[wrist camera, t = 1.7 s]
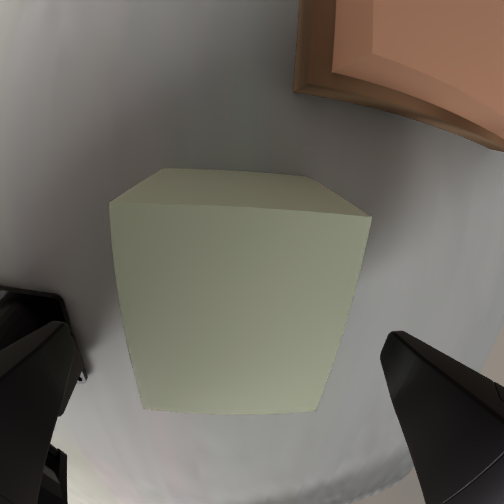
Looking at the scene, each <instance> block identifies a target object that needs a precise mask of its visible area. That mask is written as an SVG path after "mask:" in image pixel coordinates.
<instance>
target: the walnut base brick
mask: <svg viewBox="0 0 504 504" xmlns="http://www.w3.org/2000/svg"><path fill="white" fill-rule="evenodd" d="M335 17H336V0H299V16H298V31H297V46H296V59H295V72H294V84H293V92H295V93H302V94H308V95H314V96H320V97H326V98H331V99H336V100H341V101H346V102H351V103H355V104H359V105H364V106H368V107H372V108H376V109H380V110H383V111H387V112H391V113H394V114H398V115H401V116H405V117H408V118H411V119H414V120H417V121H421V122H424V123H427V124H429V125H432V126H435V127H438V128H441V129H444V130H446V131H449V132H452V133H454V134H457V135H459V136H462V137H464V138H467V139H469V140H471V141H474V142H476V143H478V144H481V145H483V146H485V147H487V148H490V149H493V150H497V151H502V152H504V139H503V138H501V137H499V136H498V135H496V134H494V133H492V132H490V131H489V130H487V129H485V128H483V127H481V126H479V125H477V124H475V123H473V122H471V121H469V120H467V119H465V118H463V117H461V116H459V115H457V114H454V113H452V112H450V111H448V110H445V109H443V108H441V107H439V106H436V105H434V104H431V103H429V102H426V101H424V100H421V99H419V98H416V97H413V96H411V95H408V94H405V93H402V92H399V91H396V90H393V89H390V88H387V87H384V86H381V85H378V84H374V83H371V82H368V81H364V80H360V79H357V78H353V77H349V76H345V75H341V74H337V73H333V72H332V63H333V49H334V35H335Z"/></svg>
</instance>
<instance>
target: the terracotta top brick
mask: <svg viewBox="0 0 504 504" xmlns="http://www.w3.org/2000/svg"><path fill="white" fill-rule="evenodd" d="M332 72H333V73H337V74H341V75H345V76H349V77H353V78H357V79H360V80H364V81H368V82H371V83H374V84H378V85H381V86H384V87H387V88H390V89H393V90H396V91H399V92H402V93H405V94H408V95H411V96H413V97H416V98H419V99H421V100H424V101H426V102H429V103H431V104H434V105H436V106H439V107H441V108H443V109H445V110H448V111H450V112H452V113H454V114H457V115H459V116H461V117H463V118H465V119H467V120H469V121H471V122H473V123H475V124H477V125H479V126H481V127H483V128H485V129H487V130H489V131H490V132H492V133H494V134H496V135H498V136H499V137H501V138H503V139H504V0H336V17H335V35H334V49H333V63H332Z"/></svg>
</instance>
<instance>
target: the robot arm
mask: <svg viewBox="0 0 504 504" xmlns="http://www.w3.org/2000/svg"><path fill="white" fill-rule="evenodd" d="M54 302H55V303H56V304H57V305H55V304H54ZM380 360H381V364H382V368H383V371H384V375H385V378H386V382H387V386H388V389H389V393H390V397H391V400H392V403H393V406H394V409H395V412H396V415H397V417H398V420H399V423H400V425H401V428H402V431H403V434H404V437H405V440H406V442H407V445H408V448H409V451H410V454H411V457H412V460H413V463H414V466H415V469H416V473H417V476H418V479H419V482H420V486H421V489H422V492H423V496H424V499H425V503H426V504H504V387H503V386H501V385H499V384H498V383H496V382H493V381H492V380H490V379H489V378H487V377H485V376H483V375H481V374H480V373H478V372H476V371H474V370H473V369H471V368H469V367H467V366H465V365H464V364H462V363H460V362H458V361H456V360H455V359H453V358H451V357H449V356H448V355H446V354H444V353H442V352H440V351H439V350H437V349H435V348H433V347H431V346H430V345H428V344H426V343H424V342H422V341H421V340H419V339H417V338H415V337H413V336H412V335H410V334H408V333H406V332H404V331H392V332H390V333H389V334H388V336H387V339H386V341H385V344H384V346H383V349H382V351H381V355H380ZM87 378H88V376H87V373H86V370H85V368H84V363H83V360H82V358H81V355H80V352H79V349H78V346H77V343H76V339H75V336H74V334H73V332H72V329H71V325H70V322H69V318H68V315H67V311H66V307H65V303H64V301H63V299H62V298H61V297H60V296H59V295H57V294H52V293H45V292H37V291H30V290H23V289H16V288H10V287H3V286H0V504H68V502H67V455H66V454H65V453H64V452H63V451H61V450H60V449H56V448H55V447H54V446H53V445H51V444H50V442H51V438H52V434H53V431H54V427H55V424H56V421H57V417H58V416H59V417H60V416H61V415H62V414H63V413H64V411H65V408H66V406H67V404H68V401H69V399H70V397H71V394H72V392H73V390H74V388H75V385H76V383H80V384H84V383H85V382H86V380H87Z"/></svg>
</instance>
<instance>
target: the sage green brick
mask: <svg viewBox="0 0 504 504" xmlns="http://www.w3.org/2000/svg"><path fill="white" fill-rule="evenodd" d="M109 217H110V231H111V242H112V252H113V261H114V269H115V277H116V284H117V291H118V298H119V304H120V310H121V315H122V321H123V326H124V331H125V336H126V341H127V346H128V350H129V355H130V359H131V363H132V368H133V372H134V376H135V380H136V383H137V387H138V391H139V394H140V398H141V401H142V405H143V408H144V409H151V410H159V411H170V412H182V413H197V414H223V415H256V414H282V413H297V412H309V411H316V409H317V406H318V404H319V401H320V398H321V396H322V393H323V390H324V388H325V385H326V382H327V380H328V377H329V374H330V371H331V368H332V365H333V362H334V359H335V357H336V354H337V350H338V347H339V344H340V341H341V338H342V335H343V332H344V328H345V325H346V322H347V318H348V315H349V311H350V308H351V304H352V301H353V297H354V293H355V290H356V286H357V282H358V278H359V274H360V270H361V266H362V262H363V258H364V253H365V249H366V244H367V240H368V235H369V230H370V225H371V220H372V217H371V216H369V215H368V214H366V213H365V212H363V211H362V210H360V209H359V208H357V207H356V206H354V205H353V204H351V203H350V202H348V201H347V200H345V199H344V198H342V197H340V196H339V195H337V194H336V193H334V192H333V191H331V190H329V189H328V188H326V187H324V186H323V185H321V184H320V183H318V182H316V181H315V180H313V179H311V178H310V177H305V176H296V175H285V174H273V173H261V172H246V171H230V170H208V169H170V168H163V169H161V170H159V171H158V172H156V173H154V174H153V175H151V176H149V177H148V178H146V179H145V180H143V181H141V182H140V183H138V184H137V185H135V186H134V187H132V188H131V189H129V190H127V191H126V192H124V193H123V194H121V195H120V196H118V197H117V198H115V199H114V200H112V201H111V202H110V203H109Z"/></svg>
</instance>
